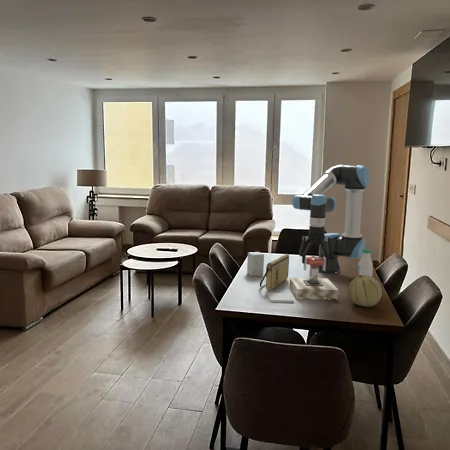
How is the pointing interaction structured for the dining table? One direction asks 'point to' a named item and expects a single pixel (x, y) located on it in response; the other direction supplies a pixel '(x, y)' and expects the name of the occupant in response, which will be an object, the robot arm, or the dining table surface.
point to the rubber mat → (280, 297)
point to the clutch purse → (276, 272)
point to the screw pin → (314, 268)
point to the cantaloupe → (365, 291)
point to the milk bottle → (365, 263)
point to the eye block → (313, 289)
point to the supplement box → (255, 264)
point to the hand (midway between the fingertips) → (314, 269)
